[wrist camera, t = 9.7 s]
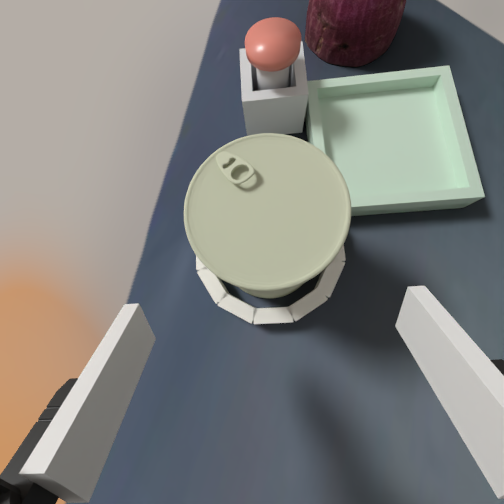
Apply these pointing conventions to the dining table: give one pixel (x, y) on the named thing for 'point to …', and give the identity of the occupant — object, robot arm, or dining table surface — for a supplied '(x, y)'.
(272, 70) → the button
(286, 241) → the can
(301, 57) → the button post
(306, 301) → the socket ring
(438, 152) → the tray
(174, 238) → the dining table surface
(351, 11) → the vegetable
